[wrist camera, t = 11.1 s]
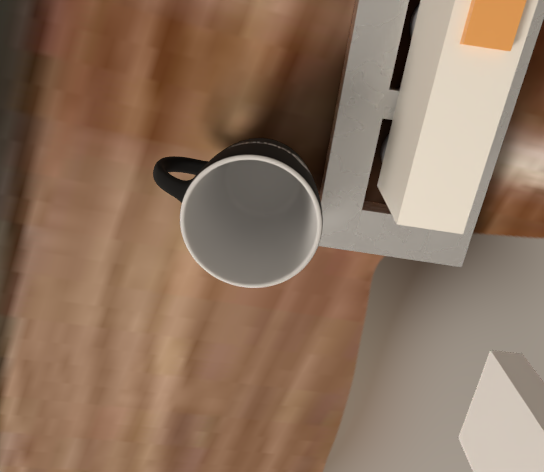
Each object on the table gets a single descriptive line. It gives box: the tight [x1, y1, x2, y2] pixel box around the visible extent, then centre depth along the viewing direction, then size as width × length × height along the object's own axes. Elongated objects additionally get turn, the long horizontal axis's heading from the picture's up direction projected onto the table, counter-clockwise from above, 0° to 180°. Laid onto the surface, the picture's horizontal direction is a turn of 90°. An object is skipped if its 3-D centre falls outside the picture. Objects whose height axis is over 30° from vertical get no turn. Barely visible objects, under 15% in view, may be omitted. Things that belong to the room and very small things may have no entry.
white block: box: [377, 0, 538, 234], centre depth 30 cm, size 4×14×10 cm, turn 172°
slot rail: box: [318, 0, 544, 267], centre depth 35 cm, size 12×23×2 cm, turn 172°
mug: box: [153, 138, 323, 288], centre depth 34 cm, size 12×9×10 cm
